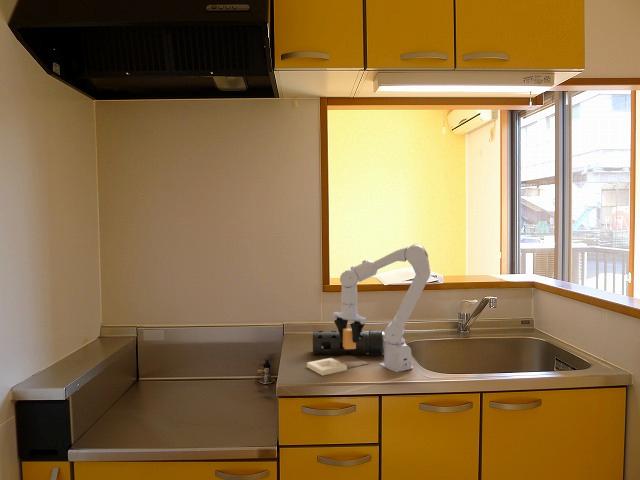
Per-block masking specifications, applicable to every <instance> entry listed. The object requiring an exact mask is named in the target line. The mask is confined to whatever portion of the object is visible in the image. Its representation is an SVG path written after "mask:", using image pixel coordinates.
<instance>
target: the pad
mask: <svg viewBox="0 0 640 480" xmlns="http://www.w3.org/2000/svg"><path fill="white" fill-rule="evenodd" d="M331 358H332V359H335V360H337V361H339V362H341V363H343V364H345V365H347V369H354V368H357V367H363V366H366V365H367V366H368V365H370V362H367V361H366V360H363V359H360V358H359V357H356V356H354V355H340V356H338V357H331Z"/></svg>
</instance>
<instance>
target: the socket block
mask: <svg viewBox="0 0 640 480" xmlns="http://www.w3.org/2000/svg"><path fill="white" fill-rule="evenodd" d="M332 358H333V357H328V358H322V359H318V360H313V361H308V362H306V368H308V369H309V370H311V371H313V372H315V373H317V374H318V375H321V376H326V375H331V374H336V373H340V372H345V371H347V370H348V368H347V365H345V364H343V363H341V362H339V361H337V360H335V359H332Z"/></svg>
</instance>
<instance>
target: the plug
mask: <svg viewBox="0 0 640 480" xmlns="http://www.w3.org/2000/svg"><path fill="white" fill-rule="evenodd" d="M343 347H344V349H356V343H354V342H353V336H352V329H351V327H350V328H346V329H343Z"/></svg>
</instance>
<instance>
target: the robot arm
mask: <svg viewBox="0 0 640 480" xmlns="http://www.w3.org/2000/svg"><path fill="white" fill-rule="evenodd" d="M397 262H408V263H409V264H410V265H411V266H412V268H413V269H412V270H413V271H414V273H415V276H414V278H413V279H412V282H411V284H410V285H409V288H408V289H407V291H406V294H405V295H404V297H403V300H402V302H401V303H400V305H399V308H398V309H397V312H396V313H395V315H394V317H393V319H392V320H391V321H389V322H388V323H387V326H386V328H385V329H384V331H383V332H384V337H385V339H384V353H383V355H384V357H383V362H380V363H379V364H378V365H379V366H381V367H384V368H386V369H388V370H390V371H393V372H396V373H398V372H403V371H407V370H412V369H414V366H413V365H412V348H411V347H410V346H409V345H407V343H406V339H405V338H404V337H403V335H404V334H405V332H406V328H405V326H406V324H407V323H408V321H409V319H410V316H411V315H412V312H413V310H414V309H415V306H416V304H417V303H418V300H419V299H420V296H421V294H422V292H423V290H424V288H425V287H426V285H427V282H428V281H429V279H430V276H431V268H430V266H431V265H430V261H429V255H428V252H427V251H426V249H425V247H424V246H423V245H422V244H419V243H414V244H412V245H410V246H404V247H402V248H399V249H397V250H395V251H393V252H391V253H389V254H387V255H385V256H382V257H381V258H379V259H377V260H375V261H373V260H371V259H368V260H366V259H364V260H362V261H361V263H360V264H357V265H356V266H350V269H347V270H345V271H343V272H342V273H341V274H340V277H339V282H340V283H341V294H340V295H341V296H340V297H341V301H340V302H341V303H340V304H341V307H340V308H341V311H340V312H339V311H334V312H332V317H333V319H335V320H333V322H334V324H335V326H336V328H337V331H339V334H340V339H343V329H346V328H347V326H348V322H349V321H350V322H352V323H349V325H350V328H351V329H352V336H353V342H354V343H356V342H358V340H359V336H360V333H361V331H363V328H364V326H365V324H367V317H363V316H362V315H360V314H358V282H359V283H361V282H363V281H365V280H367V279H370V278H372V277H374V276H376V275H377V273H378V270H380V269H383V268H384V267H387V266H388V265H391V264H394V263H397Z"/></svg>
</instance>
